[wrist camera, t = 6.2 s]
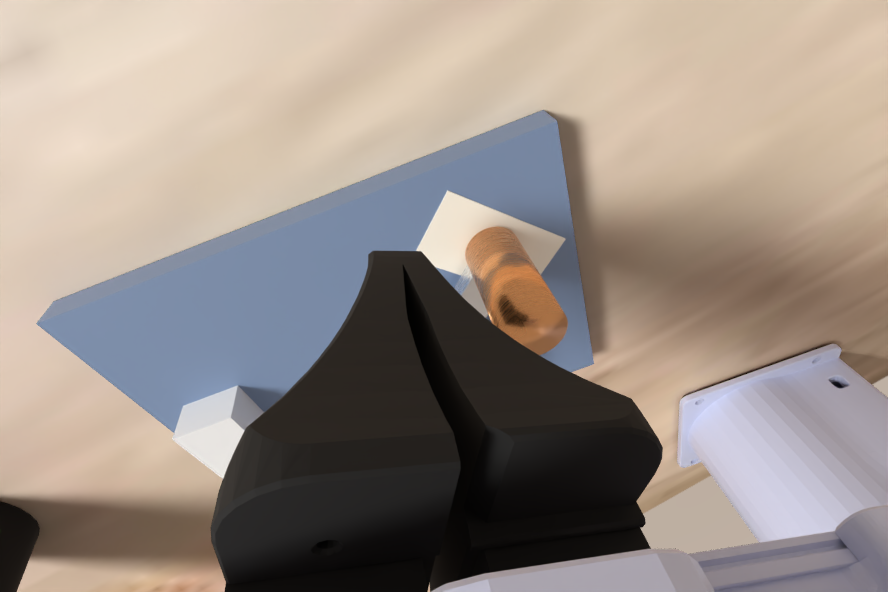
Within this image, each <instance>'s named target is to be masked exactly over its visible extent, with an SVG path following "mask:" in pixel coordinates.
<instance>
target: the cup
mask: <svg viewBox="0 0 888 592" xmlns="http://www.w3.org/2000/svg"><path fill="white" fill-rule="evenodd" d="M39 529H40V528H39V526H38V523H37V521H36V520H35V519H34V518H33V517H32V516H31V515H30V514H28V513H26V512H25V511H23V510H21V509H19V508H17V507H14V506H12V505H9V504H6V503H3V502H0V592H17V589H18V587H19V584H20V581H21V579H22V576H23V574H24V571H25V569H26V566H27V563H28V561H29V558H30V556H31V553H32V551H33V548H34V545H35V543H36V540H37V538H38V535H39Z"/></svg>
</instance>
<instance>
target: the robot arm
mask: <svg viewBox="0 0 888 592" xmlns="http://www.w3.org/2000/svg"><path fill="white" fill-rule="evenodd" d="M841 350H842V349H841V348H840V347H839V346H838V345H837V344H829V345H827V346H824V347H821V348H818V349H815V350H813V351H810V352H807V353H804V354H801V355H798V356H796V357H793V358H790V359H787V360H784V361H782V362H779V363H776V364H773V365H770V366H768V367H765V368H762V369H759V370H756V371H754V372H751V373H748V374H745V375H742V376H739V377H737V378H734V379H731V380H728V381H725V382H723V383H720V384H717V385H714V386H711V387H709V388H706V389H703V390H700V391H697V392H694V393H692V394H689V395H686V396H684V397H683V398H682V399H681V400H680V405H679V430H678V454H677V462H678V464H679V466H680V467H683V468H685V467H688V466H691V465H694V464H697V463H700V462H702V463H703V464H704V466H705V467H706V469H707V470H708V471H709V473H710V474H711V476H712V477H713V478H714V480H715V481H716V483H717V484H718V486H719V487H720V488H721V490H722V491H723V492H724V494H725V495H726V497H727V498H728V499H729V501H730V502H731V504H732V505H733V507H734V508H735V509H736V511H737V512H738V514H739V515H740V516H741V518H742V519H743V521H744V522H745V523H746V525H747V526H748V528H749V529H750V530H751V532H752V533H753V535H754V536H755V537H756V539H757V540H758V542H759V543H754V544H748V545H741V546H735V547H729V548H723V549H716V550H710V551H703V552H697V553H690V554H687V553H685V552H682V551H680V550H678V549H651V548H650V546H649V544H648V542H647V540H646V538H645V536H644V535H643V533H642V531H641V529H640V527H643V526H644V525H645V517H644V515H643V513H642V512H641V510H640V508H639V506H638V504H637V502H636V501H637V499H638V498H639V497H640V495H641V494H642V492H643V491H644V489H645V488H646V486H647V485H648V483H649V482H650V480H651V479H652V477H653V476H654V475H655V473H656V471H657V469H658V467H659V465H660V462H661V460H662V450H663V447H662V445H661V443H660V441H659V439H658V437H657V436H656V434H655V433H654V431H653V430H652V428H651V427H650V425H649V424H648V422H647V420H646V419H645V417H644V416H643V414H642V413H641V411H640V410H639V409H638V407H637V406H636V404H635V403H634V402H633V400H632V399H631V398H628V397H626V396H624V395H621V394H619V393H616V392H614V391H612V390H609V389H607V388H604V387H602V386H599V385H597V384H595V383H592V382H590V381H588V380H585V379H583V378H581V377H579V376H577V375H575V374H573V373H571V372H569V371H567V370H565V369H563V368H561V367H559V366H557V365H556V364H554V363H552V362H550V361H548V360H546V359H545V358H543V357H541V356H540V355H538V354H536V353H535V352H533V351H532V350H530V349H528V348H527V347H525V346H523V345H522V344H520V343H519V342H517V341H516V340H514V339H513V338H511V337H510V336H509V335H507V334H506V333H505V332H503V331H502V330H501V329H499V328H498V327H497V326H495V325H494V324H493V323H491V322H490V321H489V320H488V319H486V318H485V317H484V316H483V315H482V314H481V313H479V312H478V311H477V310H476V309H475V308H474V307H473V306H472V305H471V304H469V303H468V302H467V301H466V300H465V299H464V298H463V297H462V296H461V295H460V294H459V293H458V292H457V291H456V290H455V289H454V288H453V287H452V285H451V284H450V283H449V282H448V281H447V280H446V279H445V278H444V277H443V276H442V274H441V273H440V272H439V271H438V270H437V269H436V268H435V266H434V265H433V264H432V263H431V262H430V260H429V259H428V258H427V257H426V256H425V255H424V254H423V253H422V251H372V252H371V253H369V254H368V268H367V272H366V275H365V278H364V281H363V284H362V286H361V289H360V291H359V294H358V296H357V298H356V300H355V302H354V304H353V306H352V308H351V310H350V312H349V314H348V316H347V318H346V319H345V321H344V323H343V324H342V326H341V328H340V329H339V331H338V332H337V334H336V335H335V337H334V338H333V340H332V341H331V343H330V344H329V345H328V347H327V348H326V349H325V350H324V352H323V353H322V354H321V356H320V357H319V358H318V359H317V361H316V362H315V363H314V364H313V365H312V367H311V368H310V369H309V370H308V371H307V372H306V373H305V374H304V375H303V376H302V377H301V378H300V379H299V380H298V381H297V382H296V383H295V384H294V385H293V387H292V388H291V389H290V390H289V391H288V392H287V393H286V394H285V395H284V396H282V397H281V398H280V399H279V400H278V401H277V402H276V403H275V404H273V405H272V406H271V407H270V408H269V409H268V410H266V411H265V412H264V413H263V414H262V415H260V416H259V417H258V418H257V419H256V420H255V421H253V422H252V423H251V424H250V425H248V426H247V427H246V429H245V431H244V433H243V435H242V437H241V439H240V441H239V443H238V445H237V447H236V449H235V451H234V453H233V455H232V458H231V460H230V462H229V465H228V467H227V470H226V472H225V475H224V478H223V481H222V484H221V487H220V490H219V493H218V498H217V502H216V507H215V511H214V516H213V520H212V525H211V541H212V544H213V547H214V550H215V553H216V555H217V558H218V561H219V564H220V567H221V569H222V572H223V575H224V578H225V580H226V587H225V592H427V591H428V586H429V582H430V592H888V398H887V397H886V396H885V395H884V394H882V393H881V392H880V391H879V390H878V389H877V388H875V387H874V386H873V385H872V384H870V383H869V382H868V381H867V380H866V379H864V378H863V377H862V376H861V375H859V374H858V373H857V372H856V371H855V370H853V369H852V368H851V367H850V366H848V365H847V364H846V363H845V362H844V361H842V360H841V359H840V358H839V356H840V354H841Z"/></svg>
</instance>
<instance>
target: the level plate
mask: <svg viewBox="0 0 888 592" xmlns="http://www.w3.org/2000/svg"><path fill="white" fill-rule="evenodd" d="M490 227H504V228H507V229H509V230H511V231H512V232H513V233H514V234H515V235H516V236H517V238H518V240H519V241H520V243H521V244H522V246H523V248H524V249H525V251H526V252H527V254H528V256H529V257H530V259H531V260H532V262H533V264H534V265H535V267H536V268H537V270H538V272H539V273H540V275H541V276H542V278H543V280H544V281H545V283H546V284H547V286H548V288H549V289H550V291H551V292H552V294H553V296H554V297H555V299H556V300H557V302H558V304H559V305H560V307H561V308H562V310H563V312H564V313H565V315H566V317H567V320H568V328H567V331H566V334H565V336H564V337H563V339H562V340H561V341H560V342H559V344H557V345H556V346H555V347H554V348H553V349H551V350H550V351H548V352H546V353H544V354H542V355H540V356H541V357H543V358H545V359H546V360H548V361H550V362H552V363H554V364H556V365H557V366H559V367H561V368H563V369H565V370H567V371H569V372H573V371H576V370H579V369H581V368H584V367H587V366H590V365H592V364H594V361H593V355H592V348H591V342H590V335H589V328H588V322H587V315H586V309H585V302H584V295H583V289H582V282H581V275H580V269H579V262H578V256H577V249H576V242H575V236H574V229H573V223H572V216H571V209H570V203H569V196H568V189H567V183H566V176H565V170H564V163H563V156H562V150H561V143H560V137H559V130H558V123H557V120H555V119H554V118H553V117H552V116H550V115H549V114H548V113H546V112H545V111H544V110H542V111H539V112H537V113H534V114H532V115H529V116H527V117H524V118H521V119H519V120H516V121H514V122H511V123H509V124H506V125H504V126H501V127H498V128H496V129H493V130H491V131H488V132H486V133H483V134H481V135H478V136H475V137H473V138H470V139H468V140H465V141H463V142H460V143H458V144H455V145H452V146H450V147H447V148H445V149H442V150H440V151H437V152H435V153H432V154H429V155H427V156H424V157H422V158H419V159H417V160H414V161H412V162H409V163H406V164H404V165H401V166H399V167H396V168H394V169H391V170H388V171H386V172H383V173H381V174H378V175H376V176H373V177H371V178H368V179H365V180H363V181H360V182H358V183H355V184H353V185H350V186H348V187H345V188H342V189H340V190H337V191H335V192H332V193H330V194H327V195H325V196H322V197H319V198H317V199H314V200H312V201H309V202H307V203H304V204H302V205H299V206H296V207H294V208H291V209H289V210H286V211H284V212H281V213H279V214H276V215H273V216H271V217H268V218H266V219H263V220H261V221H258V222H256V223H253V224H250V225H248V226H245V227H243V228H240V229H238V230H235V231H233V232H230V233H227V234H225V235H222V236H220V237H217V238H215V239H212V240H210V241H207V242H204V243H202V244H199V245H197V246H194V247H192V248H189V249H186V250H184V251H181V252H179V253H176V254H174V255H171V256H169V257H166V258H163V259H161V260H158V261H156V262H153V263H151V264H148V265H146V266H143V267H140V268H138V269H135V270H133V271H130V272H128V273H125V274H123V275H120V276H117V277H115V278H112V279H110V280H107V281H105V282H102V283H100V284H97V285H94V286H92V287H89V288H87V289H84V290H82V291H79V292H77V293H74V294H71V295H69V296H66V297H64V298H61V299H59V300H56V301H54V302H53V303H52V304H51V306H50V307H49V308H48V309H47V311H46V312H45V313H44V314H43V316H42V317H41V318H40V320H39V321H38V322H37V323H36V324H37V325H38V326H40V327H41V328H42V329H44V330H45V331H46V332H47V333H49V334H50V335H51V336H52V337H54V338H55V339H56V340H57V341H59V342H60V343H61V344H62V345H64V346H65V347H66V348H67V349H69V350H70V351H71V352H73V353H74V354H75V355H76V356H78V357H79V358H80V359H81V360H83V361H84V362H85V363H86V364H88V365H89V366H90V367H91V368H93V369H94V370H95V371H97V372H98V373H99V374H100V375H102V376H103V377H104V378H105V379H107V380H108V381H109V382H110V383H112V384H113V385H114V386H115V387H117V388H118V389H119V390H121V391H122V392H123V393H124V394H126V395H127V396H128V397H129V398H131V399H132V400H133V401H134V402H136V403H137V404H138V405H139V406H141V407H142V408H143V409H144V410H146V411H147V412H148V413H150V414H151V415H152V416H153V417H155V418H156V419H157V420H158V421H160V422H161V423H162V424H163V425H165V426H166V427H167V428H168V429H170V430H171V431H172V432H174V435H173V438H172V440H173V441H175V442H176V443H177V444H179V445H180V446H181V447H182V448H184V449H185V450H186V451H188V452H189V453H190V454H191V455H193V456H194V457H195V458H197V459H198V460H199V461H200V462H202V463H203V464H204V465H206V466H207V467H208V468H209V469H211V470H212V471H213V472H215V473H216V474H217V475H218V476H220V477H221V478H222V479H223V478H224V475H225V472H226V470H227V467H228V465H229V462H230V460H231V458H232V455H233V453H234V451H235V449H236V447H237V445H238V443H239V441H240V439H241V437H242V435H243V433H244V431H245V429H246V427H247V426H248V425H250V424H251V423H252V422H253V421H255V420H256V419H257V418H258V417H259V416H260V415H262V414H263V413H264V412H265V411H266V410H268V409H269V408H270V407H271V406H272V405H273V404H275V403H276V402H277V401H278V400H279V399H280V398H281V397H282V396H284V395H285V394H286V393H287V392H288V391H289V390H290V389H291V388H292V387H293V385H294V384H295V383H296V382H297V381H298V380H299V379H300V378H301V377H302V376H303V375H304V374H305V373H306V372H307V371H308V370H309V369H310V368H311V367H312V365H313V364H314V363H315V362H316V361H317V359H318V358H319V357H320V356H321V354H322V353H323V352H324V350H325V349H326V348H327V347H328V345H329V344H330V343H331V341H332V340H333V338H334V337H335V335H336V334H337V332H338V331H339V329H340V328H341V326H342V324H343V323H344V321H345V319H346V318H347V316H348V314H349V312H350V310H351V308H352V306H353V304H354V302H355V300H356V298H357V296H358V294H359V291H360V289H361V286H362V284H363V281H364V278H365V275H366V272H367V268H368V254H369V253H371V252H372V251H422V253H423V254H424V255H425V256H426V257H427V258H428V259H429V260H430V262H431V263H432V264H433V265H434V266H435V268H436V269H437V270H438V271H439V272H440V273H441V274H442V276H443V277H444V278H445V279H446V280H447V281H448V282H449V283H450V284H451V285H452V287H453V288H454V286H455V284H456V283H457V281H458V279H459V278H460V276H461V274H462V273H463V271H464V269H465V268H466V266H467V265H468V264H467V262H466V259H465V251H466V247H467V245H468V243H469V242H470V240H471V239H472V238H473V237H474V236H475V235H476V234H477V233H479V232H480V231H482V230H484V229H487V228H490ZM486 319H488V320H489V321H490V322H491V320H490V317H489V315H488V316H487V317H486ZM491 323H492V322H491Z"/></svg>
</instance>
